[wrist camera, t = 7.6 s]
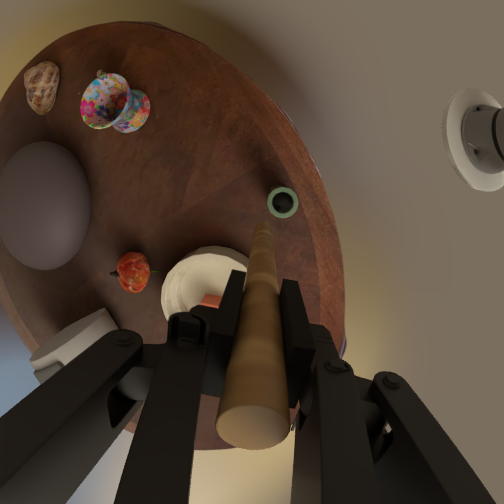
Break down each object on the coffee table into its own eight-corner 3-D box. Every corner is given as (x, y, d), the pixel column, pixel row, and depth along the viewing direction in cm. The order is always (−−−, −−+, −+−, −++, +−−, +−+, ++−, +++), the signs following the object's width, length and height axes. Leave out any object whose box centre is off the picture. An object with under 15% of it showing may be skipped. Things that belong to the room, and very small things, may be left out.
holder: (293, 187, 50) (300, 190, 38) (288, 210, 51) (294, 220, 39) (269, 182, 50) (270, 184, 38) (265, 205, 51) (264, 214, 39)
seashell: (24, 92, 45) (14, 69, 36) (56, 73, 49) (51, 47, 39) (37, 122, 47) (26, 99, 38) (71, 100, 50) (65, 75, 41)
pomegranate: (160, 246, 56) (110, 241, 50) (171, 266, 51) (115, 263, 45) (152, 278, 58) (104, 276, 52) (161, 300, 53) (109, 299, 47)
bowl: (273, 254, 53) (273, 264, 47) (255, 340, 57) (254, 357, 51) (176, 237, 53) (165, 245, 47) (168, 323, 57) (159, 337, 52)
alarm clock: (76, 354, 62) (33, 400, 43) (60, 329, 60) (12, 371, 41) (135, 330, 58) (92, 386, 39) (116, 300, 57) (64, 348, 38)
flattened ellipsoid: (71, 282, 57) (30, 308, 42) (11, 207, 53) (-33, 218, 39) (130, 195, 51) (87, 204, 37) (59, 120, 48) (11, 112, 34)
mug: (161, 120, 48) (137, 108, 38) (119, 144, 49) (88, 139, 39) (140, 69, 45) (115, 50, 35) (101, 94, 47) (71, 81, 36)
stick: (273, 223, 36) (299, 409, 7) (270, 239, 36) (280, 453, 7) (256, 219, 36) (219, 398, 7) (253, 236, 36) (211, 444, 7)
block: (226, 297, 55) (223, 306, 51) (223, 316, 56) (220, 326, 52) (205, 293, 55) (200, 302, 51) (203, 312, 56) (198, 322, 52)
